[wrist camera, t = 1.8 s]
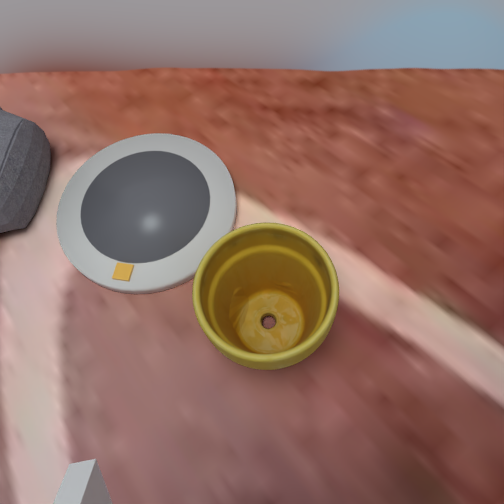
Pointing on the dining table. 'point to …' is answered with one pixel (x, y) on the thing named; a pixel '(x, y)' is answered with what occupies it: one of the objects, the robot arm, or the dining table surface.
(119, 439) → the dining table surface
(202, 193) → the base
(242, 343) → the plant pot
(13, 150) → the soft grey pack
